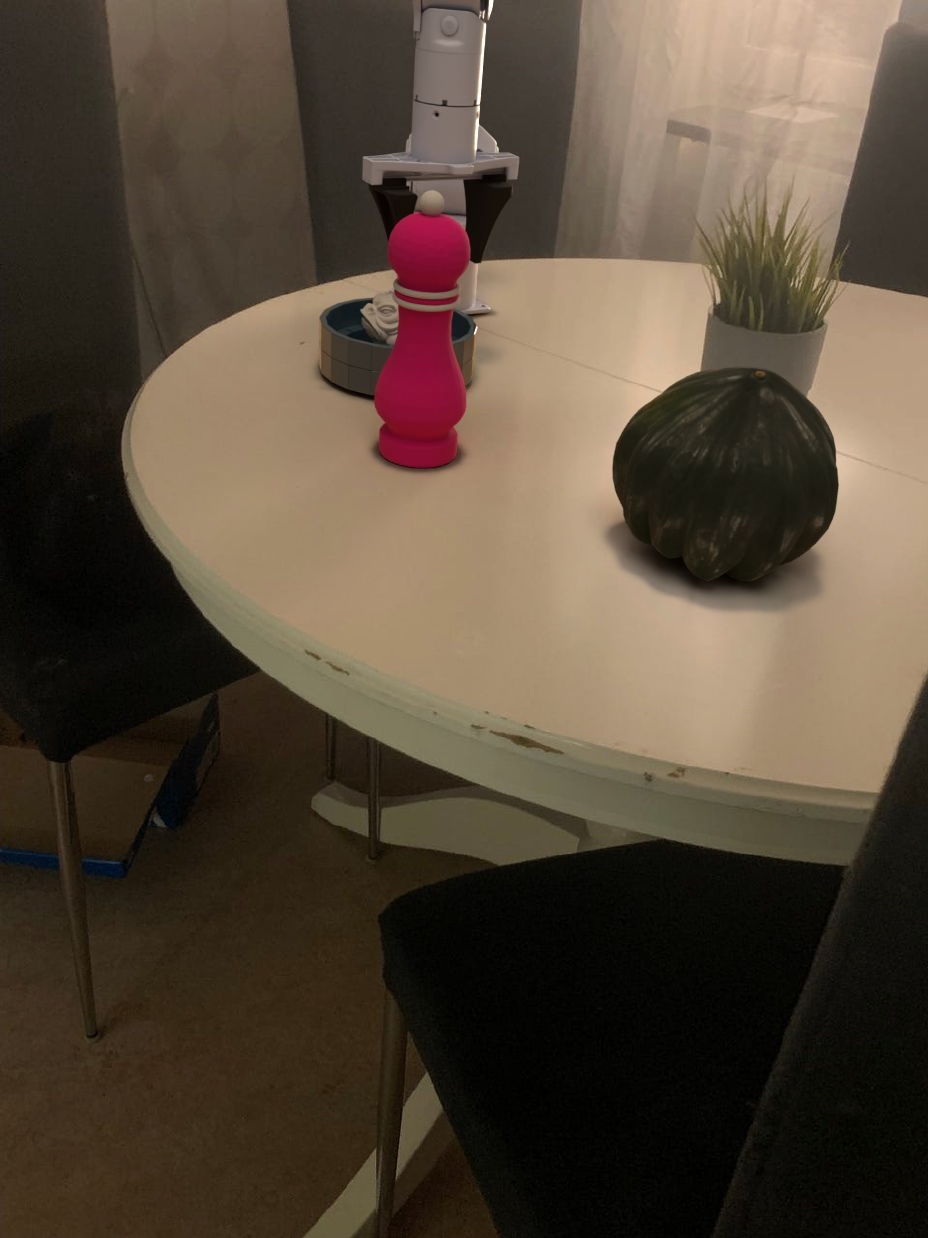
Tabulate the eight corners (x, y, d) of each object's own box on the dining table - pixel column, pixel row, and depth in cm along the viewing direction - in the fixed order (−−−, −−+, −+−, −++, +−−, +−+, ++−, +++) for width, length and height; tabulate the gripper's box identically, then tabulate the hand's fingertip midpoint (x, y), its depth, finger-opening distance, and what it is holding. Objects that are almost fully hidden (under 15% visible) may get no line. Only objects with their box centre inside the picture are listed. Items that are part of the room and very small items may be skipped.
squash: (699, 411, 84) (664, 292, 71) (882, 482, 77) (881, 364, 64) (603, 561, 82) (549, 468, 69) (781, 648, 75) (759, 562, 62)
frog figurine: (352, 358, 102) (353, 284, 98) (423, 356, 104) (428, 283, 100) (366, 382, 97) (368, 305, 93) (441, 379, 99) (446, 304, 95)
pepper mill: (452, 477, 83) (472, 207, 72) (361, 463, 84) (368, 194, 73) (470, 440, 89) (492, 186, 78) (385, 427, 90) (395, 174, 79)
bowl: (296, 356, 103) (295, 304, 100) (428, 341, 109) (431, 291, 106) (358, 412, 93) (360, 355, 90) (500, 392, 99) (505, 339, 96)
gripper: (389, 110, 86) (384, 281, 93) (543, 109, 92) (526, 269, 100) (353, 95, 91) (350, 259, 98) (501, 95, 97) (488, 249, 105)
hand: (436, 263), depth 99 cm, fingers open, 7 cm apart
